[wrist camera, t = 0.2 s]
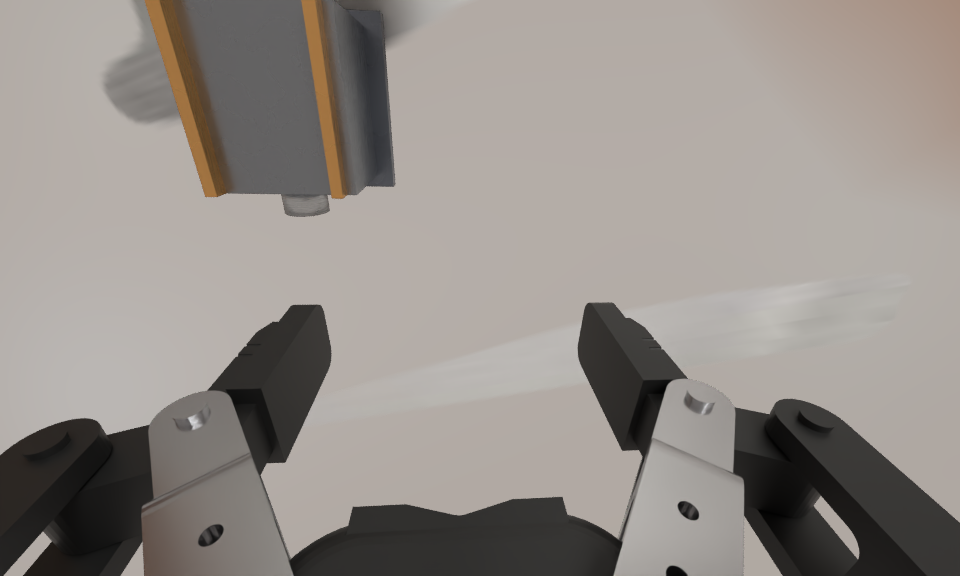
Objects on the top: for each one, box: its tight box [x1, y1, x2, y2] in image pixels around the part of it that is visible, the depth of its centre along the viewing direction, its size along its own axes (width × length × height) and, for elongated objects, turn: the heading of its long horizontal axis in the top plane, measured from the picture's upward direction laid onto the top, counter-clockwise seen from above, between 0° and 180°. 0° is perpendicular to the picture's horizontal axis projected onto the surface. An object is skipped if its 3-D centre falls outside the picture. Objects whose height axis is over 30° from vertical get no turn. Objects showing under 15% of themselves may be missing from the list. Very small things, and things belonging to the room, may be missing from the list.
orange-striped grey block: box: [145, 0, 395, 217], centre depth 29 cm, size 15×14×11 cm
